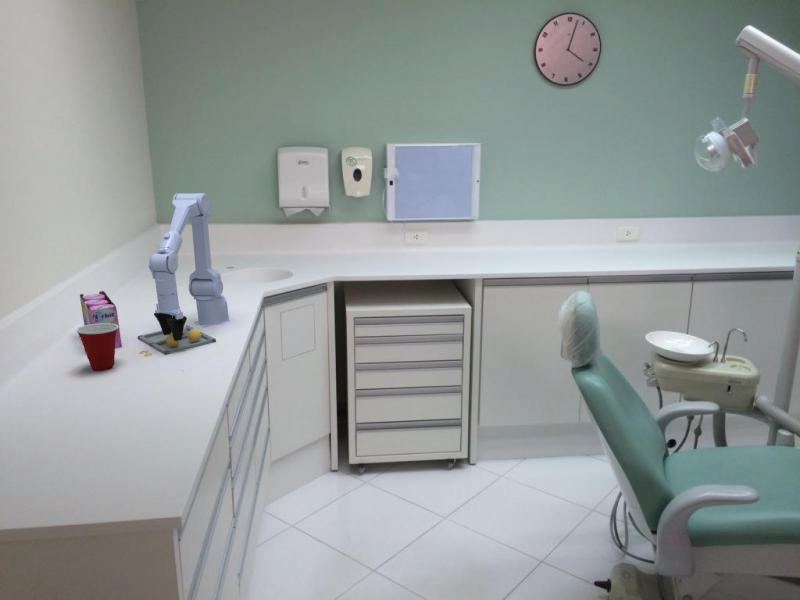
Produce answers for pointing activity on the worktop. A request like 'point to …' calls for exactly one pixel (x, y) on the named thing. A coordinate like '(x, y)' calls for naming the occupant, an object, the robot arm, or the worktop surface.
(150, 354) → the card
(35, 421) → the worktop surface
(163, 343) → the sorting tray
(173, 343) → the amber ball
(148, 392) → the worktop surface
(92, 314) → the gum box
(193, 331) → the amber ball
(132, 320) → the worktop surface
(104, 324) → the plastic cup
